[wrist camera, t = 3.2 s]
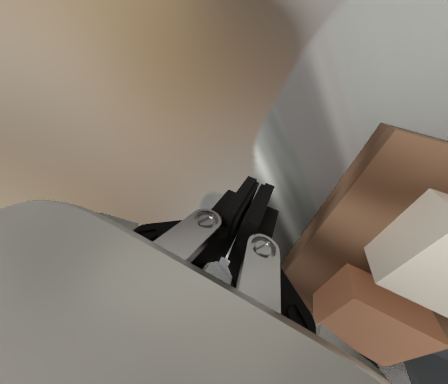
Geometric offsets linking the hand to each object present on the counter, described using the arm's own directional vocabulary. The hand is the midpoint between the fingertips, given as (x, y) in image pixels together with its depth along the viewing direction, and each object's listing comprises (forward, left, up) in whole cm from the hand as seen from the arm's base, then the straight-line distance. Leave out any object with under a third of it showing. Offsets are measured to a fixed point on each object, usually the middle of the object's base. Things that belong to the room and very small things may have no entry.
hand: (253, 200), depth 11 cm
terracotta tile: (+7, +11, -3) cm, 14 cm away
